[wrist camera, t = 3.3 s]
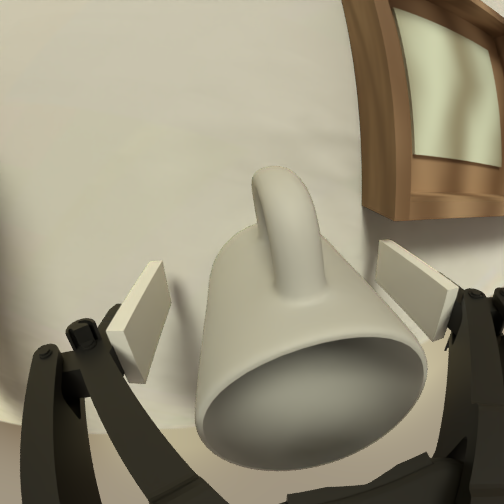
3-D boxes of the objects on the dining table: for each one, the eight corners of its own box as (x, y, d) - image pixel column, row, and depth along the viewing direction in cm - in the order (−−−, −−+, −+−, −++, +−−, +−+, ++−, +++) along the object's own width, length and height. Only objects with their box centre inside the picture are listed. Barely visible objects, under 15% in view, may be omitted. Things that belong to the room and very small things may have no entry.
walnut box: (361, 205, 16) (394, 221, 13) (333, -31, 10) (352, -58, 6) (507, 204, 17) (536, 215, 13) (491, 34, 11) (517, 29, 7)
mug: (338, 320, 19) (403, 438, 9) (226, 343, 19) (227, 481, 9) (326, 151, 15) (464, 166, 5) (182, 176, 15) (94, 226, 5)
